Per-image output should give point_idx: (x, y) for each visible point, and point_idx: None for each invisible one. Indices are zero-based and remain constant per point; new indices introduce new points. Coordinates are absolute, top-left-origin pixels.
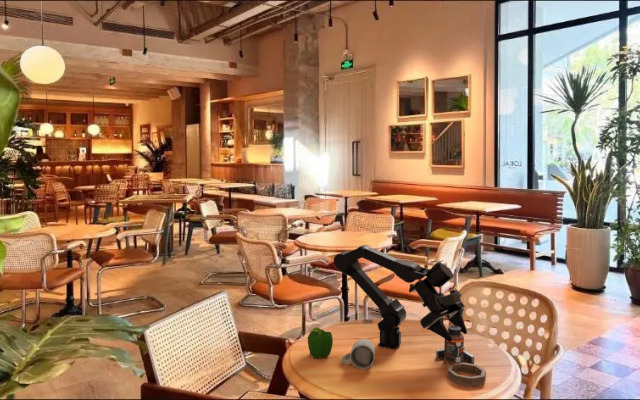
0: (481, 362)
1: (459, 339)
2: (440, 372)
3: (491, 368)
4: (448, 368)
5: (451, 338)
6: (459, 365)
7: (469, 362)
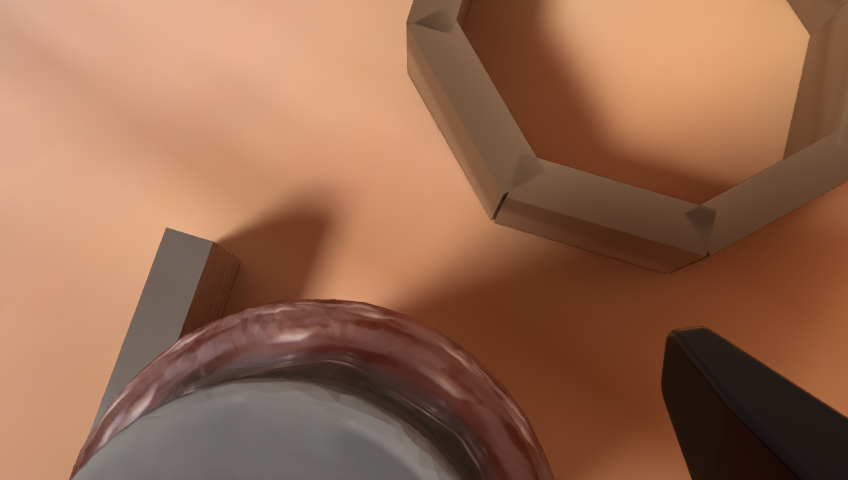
0: (74, 222)
1: (393, 314)
2: (775, 347)
3: (145, 40)
4: (837, 183)
5: (707, 345)
6: (594, 179)
7: (225, 299)
